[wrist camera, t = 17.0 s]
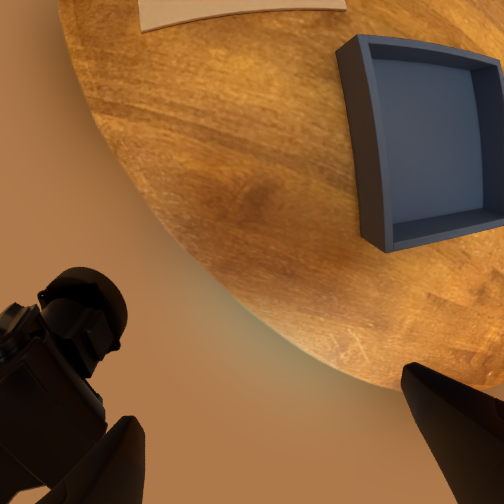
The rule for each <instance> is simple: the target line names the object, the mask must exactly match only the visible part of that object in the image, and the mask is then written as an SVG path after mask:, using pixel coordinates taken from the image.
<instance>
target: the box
mask: <svg viewBox="0 0 504 504" xmlns="http://www.w3.org/2000/svg"><path fill="white" fill-rule="evenodd" d="M336 56H337V61H338V65H339V70H340V75H341V80H342V85H343V91H344V96H345V102H346V108H347V114H348V120H349V126H350V133H351V140H352V147H353V155H354V163H355V172H356V181H357V191H358V203H359V215H360V230H361V237H362V238H364V239H365V240H367V241H368V242H370V243H371V244H372V245H374V246H375V247H377V248H378V249H380V250H381V251H383V252H384V253H390V252H393V251H399V250H403V249H408V248H412V247H417V246H421V245H426V244H430V243H434V242H439V241H443V240H447V239H451V238H456V237H460V236H464V235H468V234H472V233H477V232H481V231H485V230H489V229H493V228H497V227H501V226H504V77H503V72H502V68H501V64H500V60H498V59H495V58H491V57H488V56H485V55H481V54H477V53H474V52H470V51H466V50H462V49H458V48H453V47H449V46H444V45H439V44H434V43H429V42H423V41H417V40H410V39H403V38H395V37H386V36H375V35H362V34H357V35H355V36H354V37H353V38H352V39H350V40H349V41H348V42H347V43H345V44H344V45H343V46H342V47H340V48H339V49H338V50H337V51H336Z"/></svg>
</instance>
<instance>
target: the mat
mask: <svg viewBox="0 0 504 504" xmlns="http://www.w3.org/2000/svg"><path fill="white" fill-rule="evenodd" d="M138 6H139V17H140V27H141V32H142V33H145V32H148V31H152V30H156V29H160V28H164V27H168V26H172V25H177V24H181V23H186V22H191V21H196V20H201V19H207V18H213V17H220V16H227V15H234V14H243V13H253V12H265V11H282V10H334V11H346V10H347V6H346V2H345V0H138Z"/></svg>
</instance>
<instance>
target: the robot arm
mask: <svg viewBox="0 0 504 504" xmlns="http://www.w3.org/2000/svg"><path fill="white" fill-rule="evenodd" d="M91 286H93V287H94V290H93V289H92V288H91ZM42 295H43V297H44V298H43V297H42ZM37 296H38V300H39V302H40V305H41V307H42V311H41V312H40V309H39V307H38V306H37V304H34V305H32V306H30V307H29V306H28V307H24V306H23V307H22V306H21V305H19V304H17V303H16V302H15V303H13V304H11V305H10V306H9V307H7V308H6V309H5V310H4V311H3V312H2V313H1V314H0V504H9V503H10V502H11V500H12V499H13V498H14V497H15V496H16V495H17V493H19V492H21V491H25V490H30V489H34V488H39V487H43V486H47V487H48V488H49V489H51V491H50V492H49V493H47V494H46V495H45V496H44V497H43V498H42V499H40V500H39V501H38V502H37V503H35V504H142V497H143V488H144V479H145V433H144V430H143V428H142V427H141V425H140V423H139V422H138V420H137V418H136V417H135V416H123V417H121V418H120V419H119V420H118V422H117V423H116V424H115V425H114V426H113V427H112V428H111V429H110V430H109V431H108V432H107V433H106V430H107V427H108V424H107V422H105V409H104V407H103V399H102V397H101V396H100V395H99V394H98V393H96V392H95V391H94V389H92V387H91V386H90V384H89V383H88V382H87V381H86V379H85V378H91V376H92V374H93V372H94V370H95V368H96V366H97V364H98V362H99V361H102V360H103V358H104V356H105V354H106V352H112V351H118V350H119V349H120V347H121V343H120V340H119V338H118V336H117V329H116V327H115V324H114V322H113V319H112V317H111V314H110V312H109V309H108V307H107V306H106V305H105V303H104V300H103V297H102V294H101V292H100V289H99V286H98V284H97V283H96V282H94V281H90V282H84V283H79V284H73V285H68V286H63V287H57V288H52V289H46V290H42V291H40V292H39V293H38V295H37ZM114 344H116V345H117V346H115V345H114ZM401 388H402V391H403V393H404V396H405V398H406V400H407V403H408V405H409V408H410V410H411V412H412V415H413V417H414V419H415V422H416V424H417V426H418V428H419V430H420V432H421V433H422V435H423V437H424V439H425V440H426V443H427V444H428V446H429V448H430V450H431V452H432V454H433V456H434V457H435V459H436V461H437V463H438V465H439V467H440V469H441V471H442V473H443V475H444V477H445V479H446V481H447V482H448V485H449V486H450V488H451V490H452V492H453V495H454V496H455V499H456V501H457V503H458V504H504V401H501V400H499V399H497V398H494V397H492V396H490V395H488V394H485V393H483V392H481V391H479V390H476V389H474V388H472V387H470V386H467V385H465V384H463V383H461V382H458V381H456V380H454V379H452V378H450V377H447V376H445V375H443V374H441V373H439V372H436V371H434V370H432V369H430V368H428V367H426V366H423V365H421V364H419V363H417V362H412V363H409V364H406V365H405V366H404V367H403V372H402V378H401ZM105 433H106V434H105Z"/></svg>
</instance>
